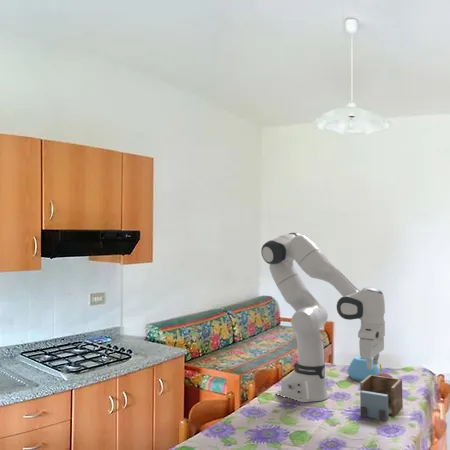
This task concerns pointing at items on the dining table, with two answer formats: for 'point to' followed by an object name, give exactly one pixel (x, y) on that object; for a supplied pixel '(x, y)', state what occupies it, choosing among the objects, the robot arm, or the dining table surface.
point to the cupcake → (383, 374)
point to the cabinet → (384, 387)
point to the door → (374, 403)
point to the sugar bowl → (361, 369)
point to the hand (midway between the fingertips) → (372, 366)
